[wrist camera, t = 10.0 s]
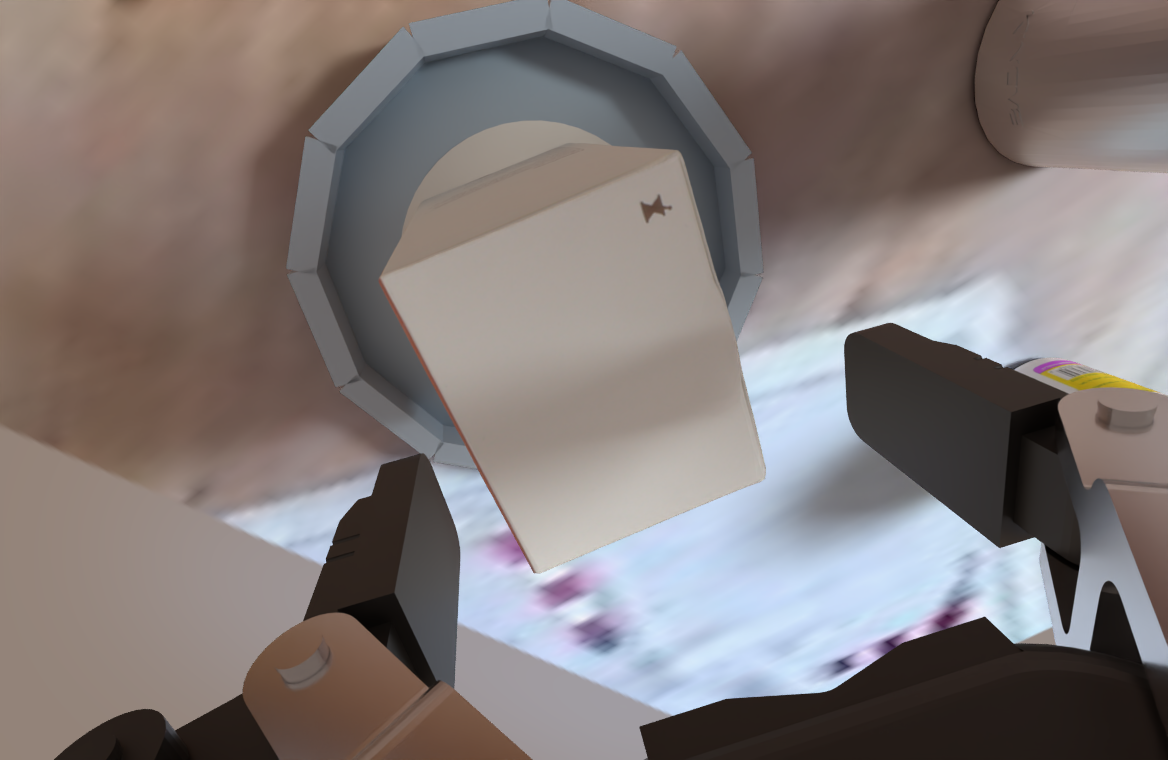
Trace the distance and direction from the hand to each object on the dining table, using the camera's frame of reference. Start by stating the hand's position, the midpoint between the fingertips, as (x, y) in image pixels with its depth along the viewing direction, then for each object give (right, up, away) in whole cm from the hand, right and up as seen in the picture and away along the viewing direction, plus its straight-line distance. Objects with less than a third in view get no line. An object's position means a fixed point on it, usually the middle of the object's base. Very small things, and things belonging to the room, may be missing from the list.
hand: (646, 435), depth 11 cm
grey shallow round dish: (-3, +6, +14) cm, 16 cm away
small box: (-3, +6, +13) cm, 15 cm away
